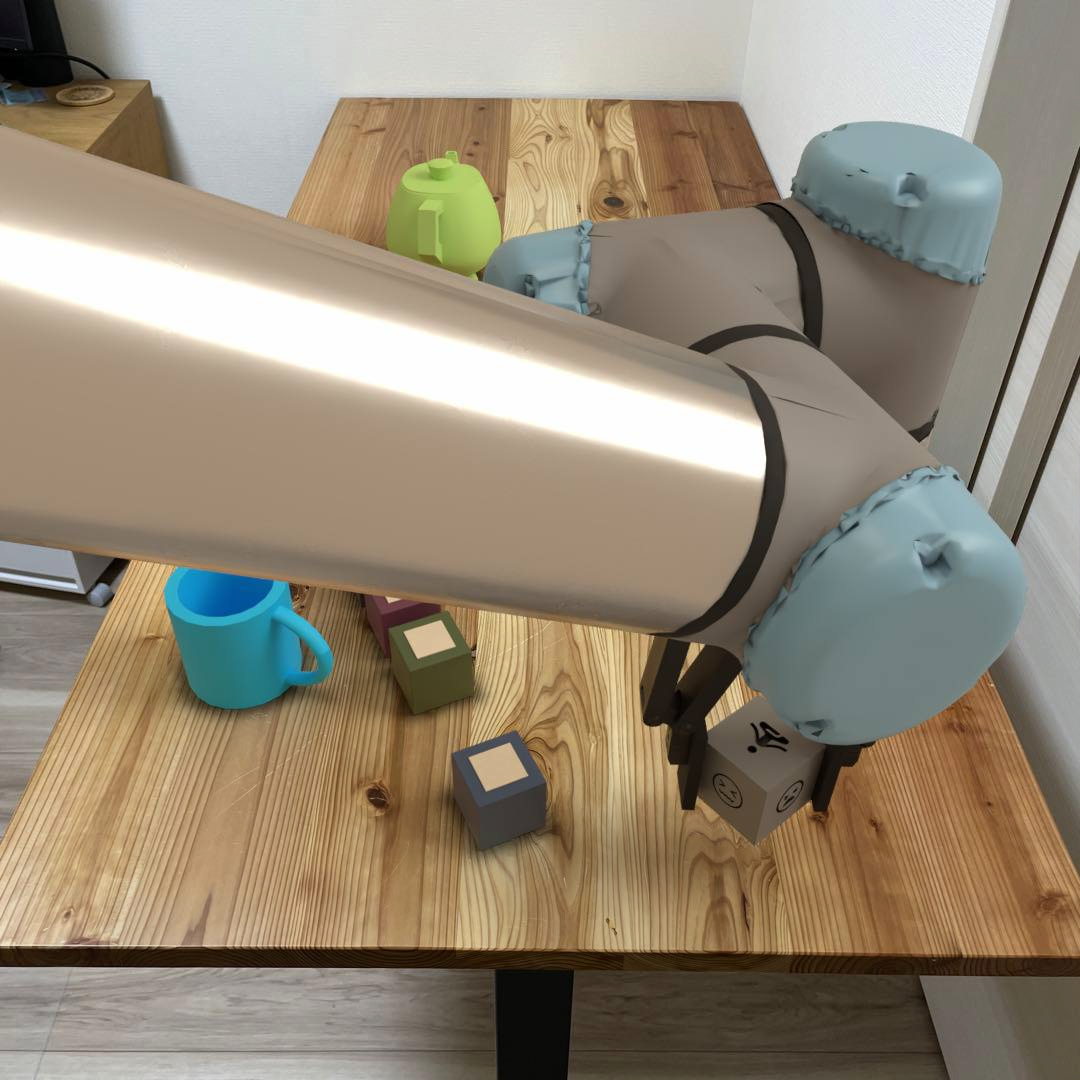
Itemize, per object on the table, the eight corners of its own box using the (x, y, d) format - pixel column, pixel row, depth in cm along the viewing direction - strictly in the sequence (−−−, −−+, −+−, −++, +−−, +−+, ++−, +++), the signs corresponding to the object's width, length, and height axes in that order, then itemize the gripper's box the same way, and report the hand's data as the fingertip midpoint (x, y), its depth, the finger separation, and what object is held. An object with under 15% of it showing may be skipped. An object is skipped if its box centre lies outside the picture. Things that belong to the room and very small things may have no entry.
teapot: (405, 227, 136) (398, 127, 128) (510, 233, 135) (510, 132, 127) (372, 301, 121) (361, 193, 112) (490, 308, 120) (488, 199, 112)
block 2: (414, 715, 75) (409, 670, 72) (392, 672, 78) (387, 627, 75) (473, 695, 76) (472, 650, 73) (450, 653, 79) (447, 608, 76)
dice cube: (810, 800, 63) (826, 746, 60) (754, 846, 61) (767, 792, 58) (747, 748, 66) (758, 694, 63) (691, 790, 64) (700, 736, 61)
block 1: (386, 658, 79) (380, 613, 76) (367, 619, 82) (361, 574, 79) (443, 640, 80) (440, 595, 77) (422, 602, 83) (418, 558, 80)
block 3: (480, 851, 66) (478, 807, 63) (453, 796, 69) (450, 751, 66) (545, 825, 68) (547, 781, 65) (516, 773, 71) (516, 728, 68)
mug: (163, 686, 76) (137, 603, 71) (234, 614, 82) (215, 532, 77) (304, 743, 73) (287, 660, 67) (368, 663, 78) (357, 581, 73)
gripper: (1015, 440, 52) (901, 744, 67) (603, 432, 51) (580, 740, 66) (1074, 540, 46) (935, 848, 61) (611, 532, 46) (584, 844, 60)
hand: (750, 791), depth 63 cm, fingers closed on dice cube, 7 cm apart
